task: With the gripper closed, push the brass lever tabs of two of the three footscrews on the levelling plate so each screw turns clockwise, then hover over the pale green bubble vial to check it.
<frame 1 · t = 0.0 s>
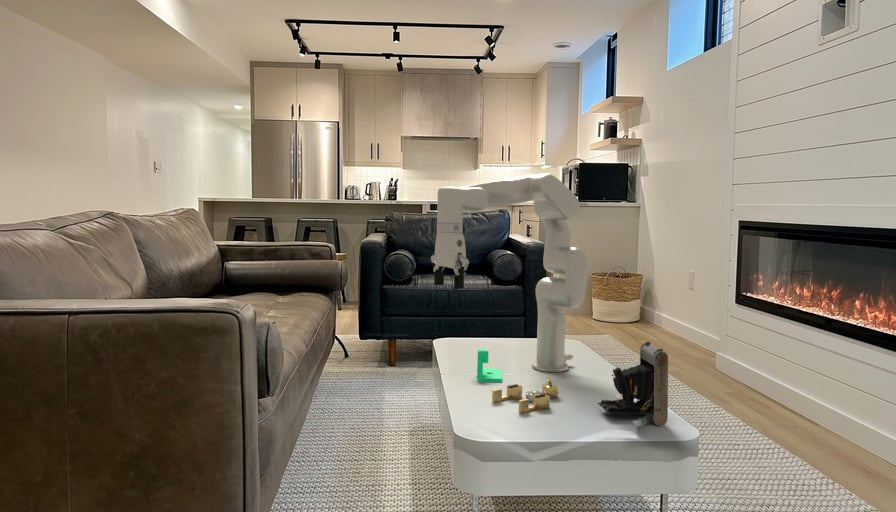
hand: (448, 286, 172), 31 cm above the table, fingers open, 9 cm apart
vintage camera: (631, 421, 151), on the table
footscrew B: (533, 402, 154), point 3 cm above the table, hinge at 0.0°
footscrew C: (549, 387, 168), point 3 cm above the table, hinge at 0.0°
levelling plate: (534, 404, 162), on the table
chess pawn: (624, 403, 165), on the table
footscrew A: (506, 392, 162), point 3 cm above the table, hinge at 0.0°
camera mount: (489, 381, 185), on the table
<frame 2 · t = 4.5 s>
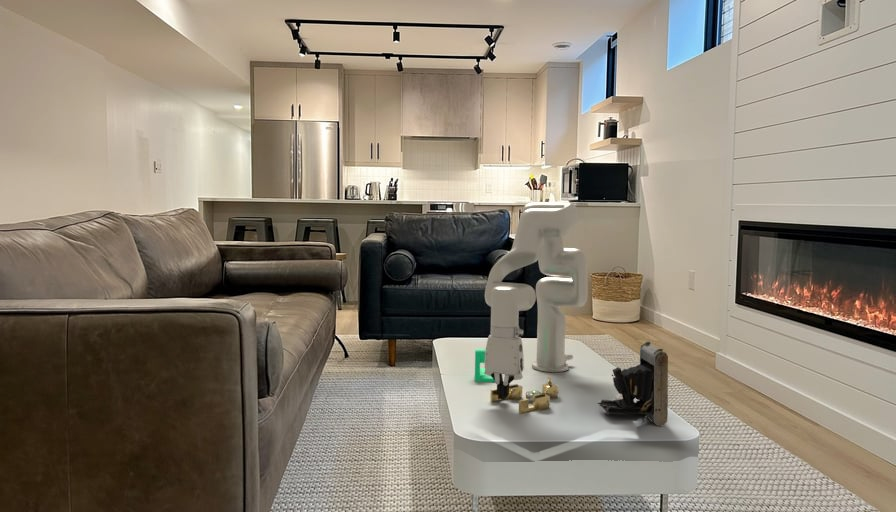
hand: (502, 397, 159), 3 cm above the table, fingers closed
footscrew A: (506, 392, 162), point 3 cm above the table, hinge at -6.1°, touching gripper
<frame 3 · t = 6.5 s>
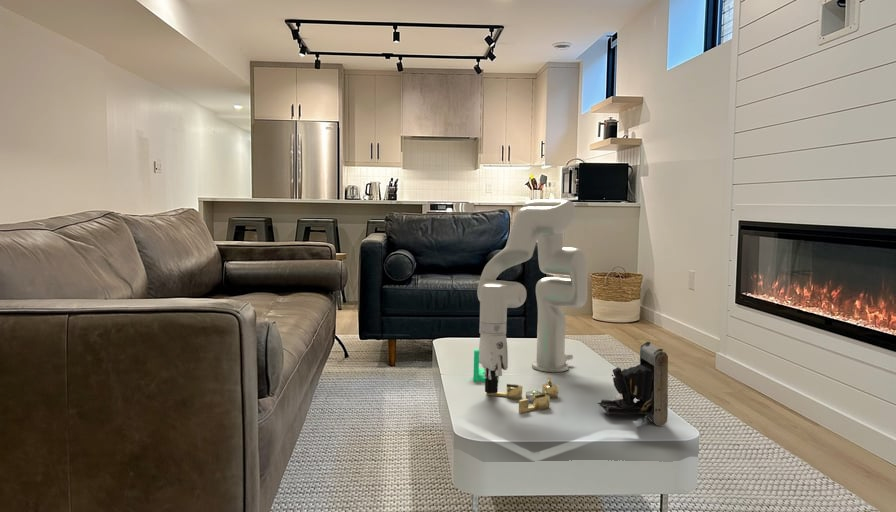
hand: (491, 392, 163), 3 cm above the table, fingers closed
footscrew A: (504, 390, 165), point 3 cm above the table, hinge at -52.3°, touching gripper
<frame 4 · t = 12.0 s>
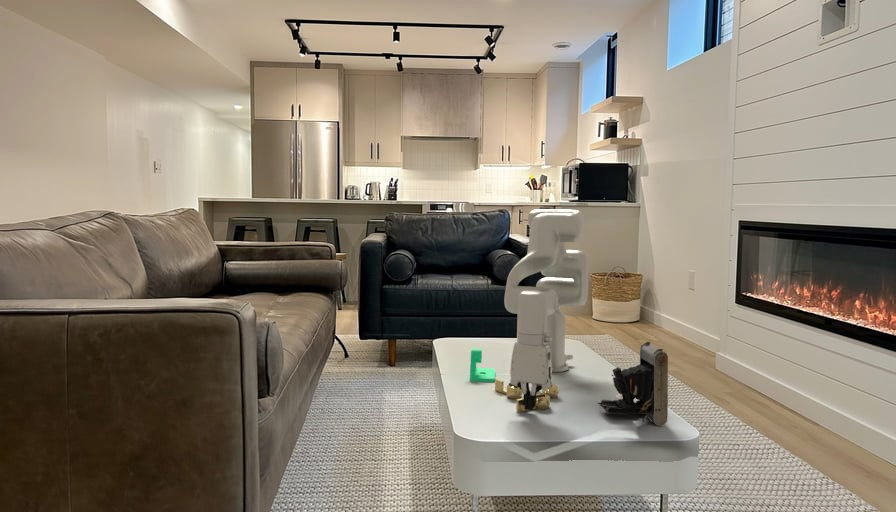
hand: (529, 408, 151), 3 cm above the table, fingers closed
footscrew B: (532, 402, 154), point 3 cm above the table, hinge at -7.0°, touching gripper
footscrew A: (507, 388, 166), point 3 cm above the table, hinge at -91.6°
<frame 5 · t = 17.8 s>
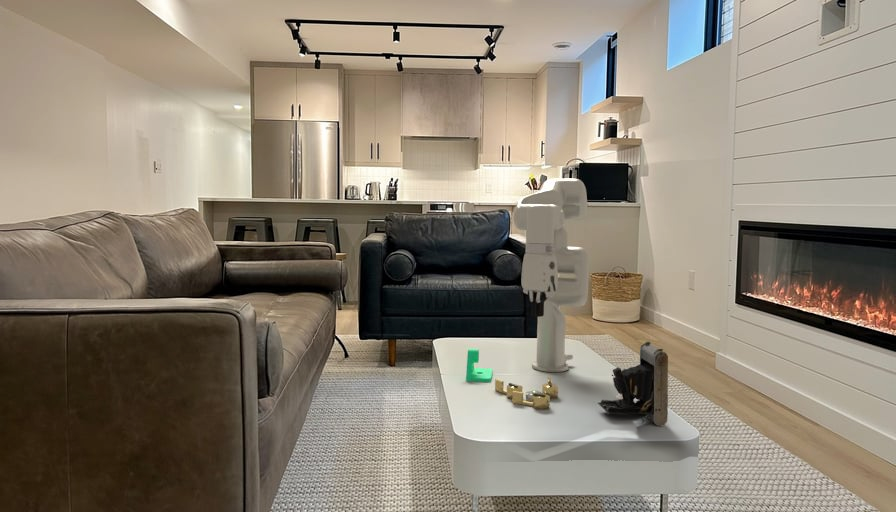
hand: (537, 316, 160), 25 cm above the table, fingers closed
footscrew B: (530, 399, 157), point 3 cm above the table, hinge at -62.0°
at the end: footscrew A at -92° (first picture: +0°); footscrew B at -62° (first picture: +0°) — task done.
